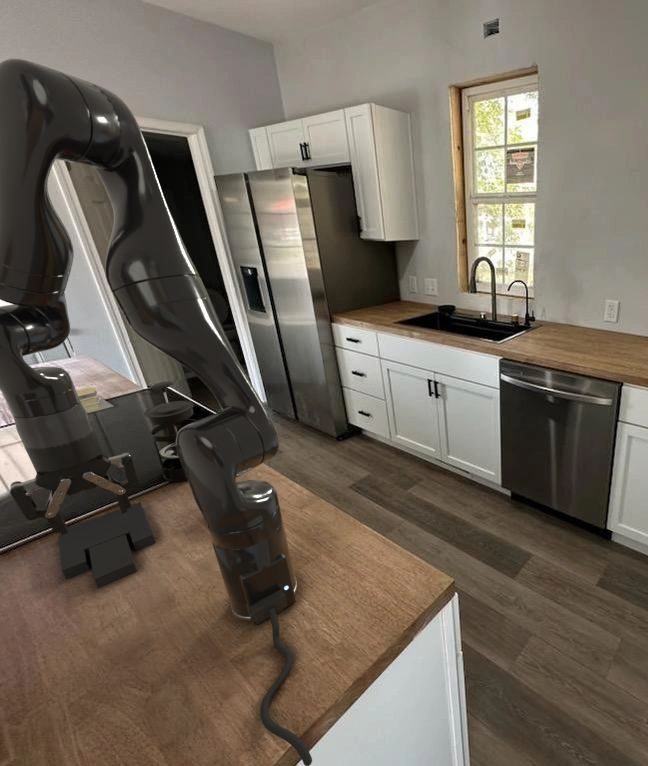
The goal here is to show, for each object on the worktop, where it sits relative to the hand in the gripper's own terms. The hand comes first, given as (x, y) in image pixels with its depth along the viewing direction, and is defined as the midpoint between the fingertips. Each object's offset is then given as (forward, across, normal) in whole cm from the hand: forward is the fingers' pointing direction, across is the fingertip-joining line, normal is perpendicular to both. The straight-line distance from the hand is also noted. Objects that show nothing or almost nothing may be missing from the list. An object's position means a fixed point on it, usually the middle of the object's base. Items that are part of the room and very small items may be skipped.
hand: (95, 520), depth 70 cm
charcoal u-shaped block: (+10, 0, +8) cm, 13 cm away
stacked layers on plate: (+10, +3, +90) cm, 91 cm away
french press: (+10, +16, +25) cm, 32 cm away
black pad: (+10, 0, 0) cm, 10 cm away
